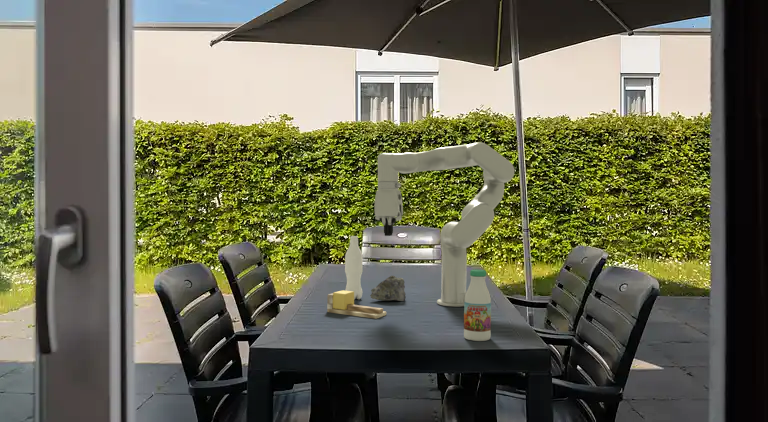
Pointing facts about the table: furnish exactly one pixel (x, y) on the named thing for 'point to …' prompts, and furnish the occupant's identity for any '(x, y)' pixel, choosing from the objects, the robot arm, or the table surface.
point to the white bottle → (354, 267)
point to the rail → (357, 313)
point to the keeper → (343, 299)
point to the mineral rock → (389, 290)
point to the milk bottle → (477, 308)
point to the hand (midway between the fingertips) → (388, 235)
